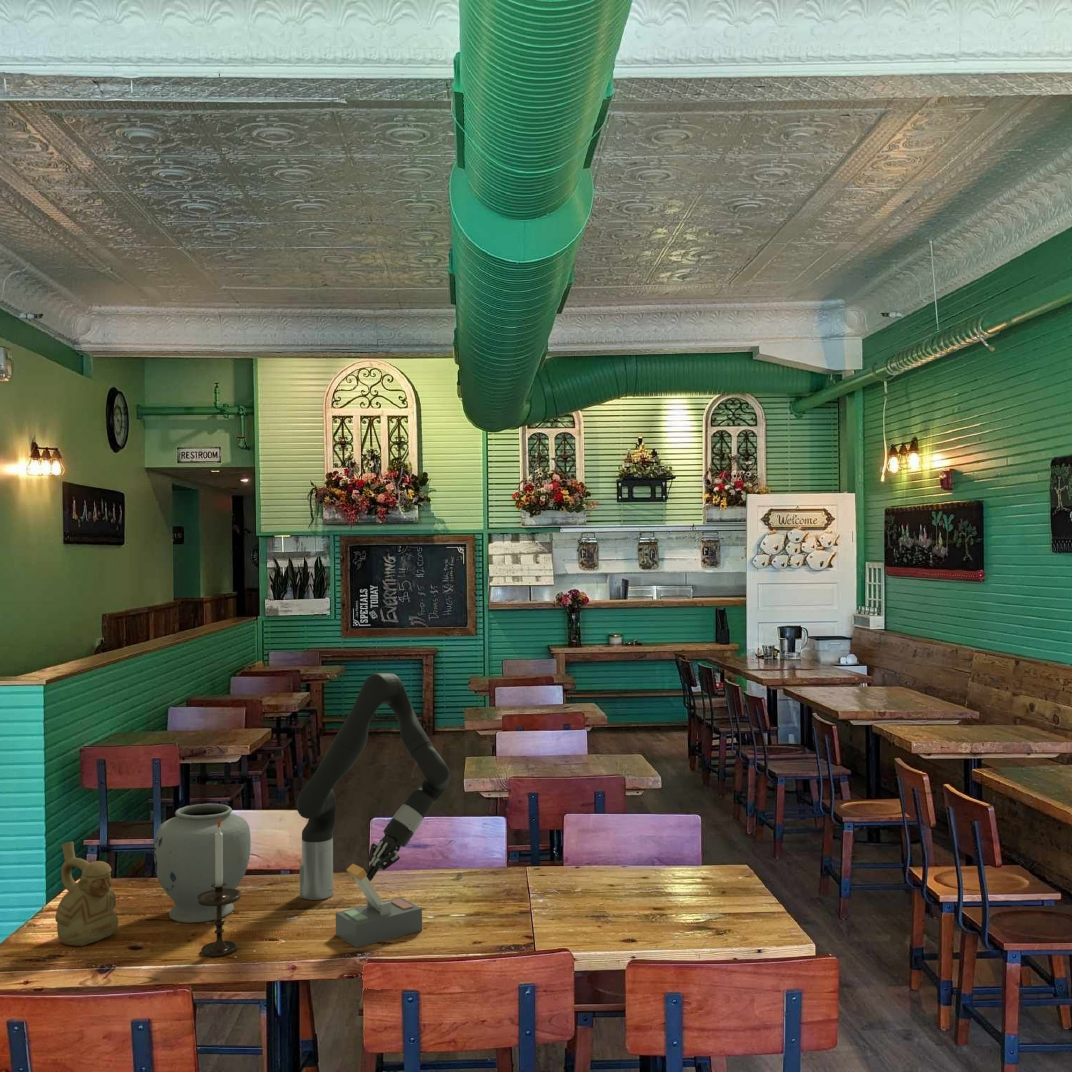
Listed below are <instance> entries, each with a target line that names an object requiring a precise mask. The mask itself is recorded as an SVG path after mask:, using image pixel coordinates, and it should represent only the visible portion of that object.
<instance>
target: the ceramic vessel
mask: <svg viewBox="0 0 1072 1072" xmlns="http://www.w3.org/2000/svg"><path fill="white" fill-rule="evenodd" d="M61 849H62V851H63V857H64V862H63V864H62V865H61V871H60V873H61V882H62V884H63V887H64V888H65V889H66V890H67V892H66V893H65V894H64V895H63V897H62V898H61V900H59V903H58V905H57V908H56V911H55V912H56V913H55V918H54V919H55V922H56V924H57V925H56V928H57V929H56V930H57V937H58V940H59V942H60V943H61V944H64V945H67V946H80V947H82V946H83V947H84V946H87V945H89V944H93V943H96V942H98V941H101V940H103V939H105V938H108V937H110V936H112V935H113V934H115V931H116V930H117V929H118V926H119V918H118V916H117V914H116V913H115V912H114V909H115V907H116V905H117V903H116V902H117V900H116V894H115V891H114V889H113V888H112V887H111V886H112V882H113V880H112V877H111V875H112V873H111V872H112V867H111V866H110V864H109V863H107V862H106V861H102V860H96V861H92V862H90V861H88V860H86V859H84V858H81V857H76V852H75V847H74V841H70V842H66V843H62V844H61ZM73 867H74V868H78V869H79V870H80V871H81V874H80V875H81V876H80V878H79V880H78V881H77V882H76V881H75V879H74V877H73V876H72V875H73V874H72V870H73V869H72V868H73Z"/></svg>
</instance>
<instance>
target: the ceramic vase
mask: <svg viewBox="0 0 1072 1072" xmlns="http://www.w3.org/2000/svg"><path fill="white" fill-rule="evenodd" d="M174 815H175V816H174V817H171V818H169V819H168V820H165V821H164V822H162V823H161V824H160V825H159V826H158V828H157V830H156V832H155V837H154V842H153V843H154V844H153V861H154V868H155V869H154V870H155V874H156V877H157V881H158V882H159V884H160V886H161V887H162V889H163V890H164V891H165V893H166V895H168V897H169V898H170V899H171V900H172V901H173V902H174V907H172V909H171V910H170V911H169V913H168V914H169V917H170V919H171V920H173V921H175V922H178V923H185V924H186V923H189V924H190V923H191V924H195V923H204V922H211V921H215V920H216V919H217V906H204V905H200V904H198V902H197V897H198V895H200V894H201V893H204V892H206V891H210V890H215V888H214V887H211V885H213V884H215V834H216V833H217V830H218V828H220V831H221V833H223V883H226V884H227V885H226V886H224V887H223V889H224V888H229V889H236V890H237V888H238V886H239V885H240V883H241V881H242V880H243V878H244V876H245V874H246V872H247V869H248V866H249V861H250V859H251V858H250V856H251V851H252V850H251V847H252V844H251V843H252V841H251V840H252V839H251V830H250V825H249V823H248V822H247V820H246V819H245V818H243V817H242V816H240V815H238V814H234V813H233V809H232V808H231V806H228V805H226V804H222V803H220V804H219V803H202V804H201V803H200V804H193V805H185V806H184V807H180V808H178V809H176V810H175V812H174ZM220 817H221V819H222V820H221V824H220V827H218V826H217V824H218V821H219V819H220ZM234 908H235V906H234V904H233V903H231V904H227V905H222V918H223V917H226V916H228V915H230V914H231V913H232V912H233V911H234Z"/></svg>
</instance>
